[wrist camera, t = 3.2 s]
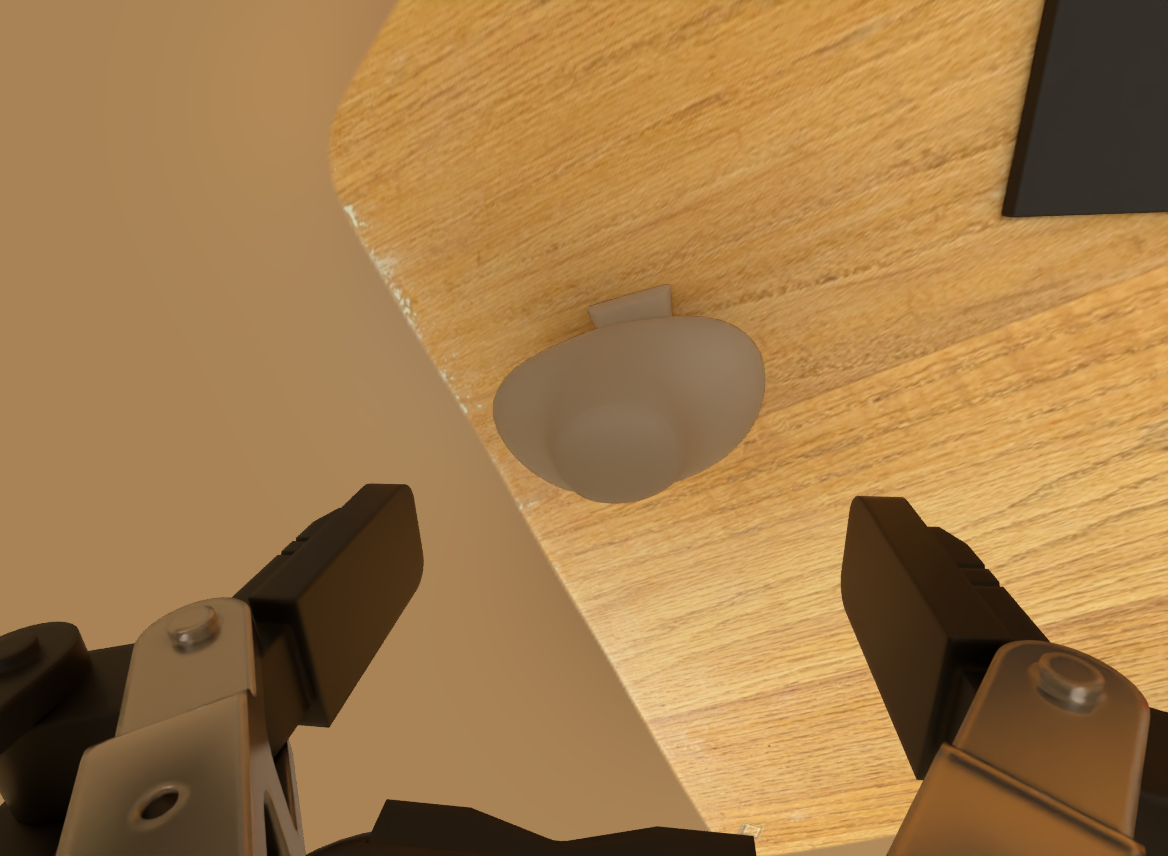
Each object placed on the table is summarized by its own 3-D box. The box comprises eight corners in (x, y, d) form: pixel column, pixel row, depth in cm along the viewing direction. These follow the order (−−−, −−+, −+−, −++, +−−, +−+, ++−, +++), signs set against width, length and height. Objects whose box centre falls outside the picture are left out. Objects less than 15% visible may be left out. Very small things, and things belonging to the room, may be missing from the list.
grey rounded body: (572, 426, 26) (504, 606, 15) (534, 308, 24) (422, 410, 13) (748, 384, 24) (819, 551, 13) (719, 253, 22) (774, 317, 11)
